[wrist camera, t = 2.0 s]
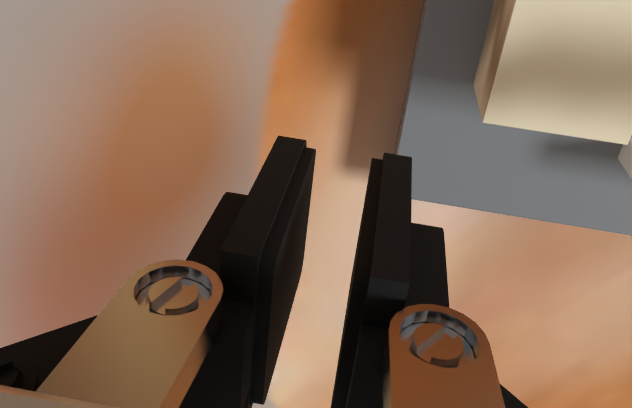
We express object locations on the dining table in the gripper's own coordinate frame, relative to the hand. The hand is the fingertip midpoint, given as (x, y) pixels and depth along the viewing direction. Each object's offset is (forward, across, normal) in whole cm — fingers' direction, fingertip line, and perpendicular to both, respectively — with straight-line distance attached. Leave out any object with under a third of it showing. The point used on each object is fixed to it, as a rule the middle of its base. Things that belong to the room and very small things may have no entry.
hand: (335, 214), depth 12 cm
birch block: (+19, -8, 0) cm, 21 cm away
